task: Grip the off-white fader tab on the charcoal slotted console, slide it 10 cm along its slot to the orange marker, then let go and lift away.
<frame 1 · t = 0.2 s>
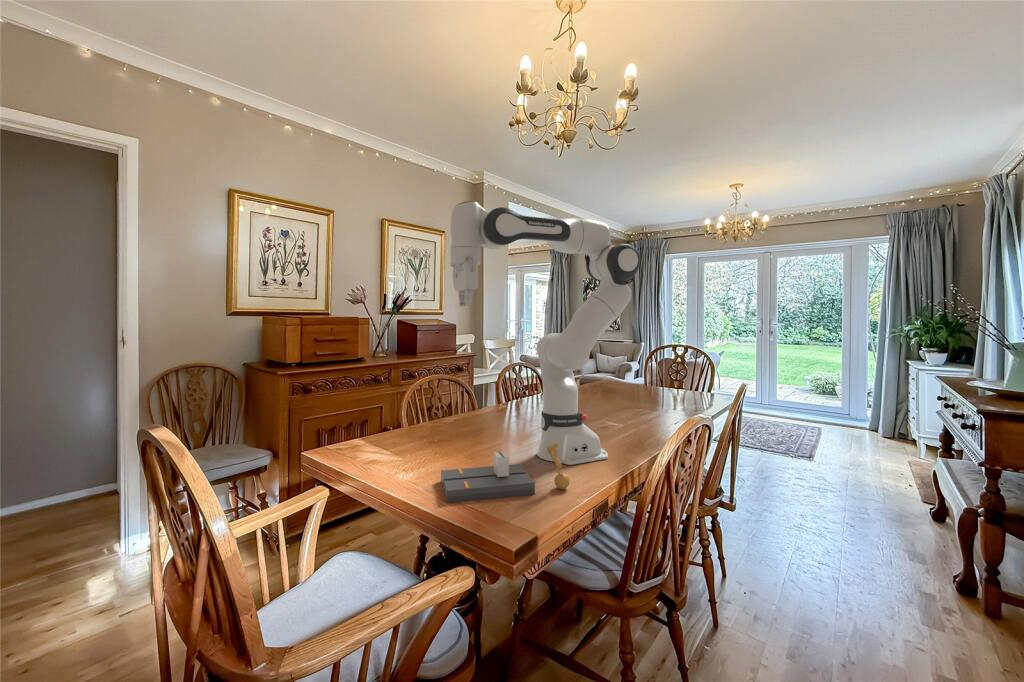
hand: (465, 306, 131), 47 cm above the table, tool pointing down, fingers open, 8 cm apart
fader tab: (501, 466, 116), point 5 cm above the table, slide at 0.0 cm
figurine: (557, 489, 115), on the table
console: (486, 487, 115), on the table
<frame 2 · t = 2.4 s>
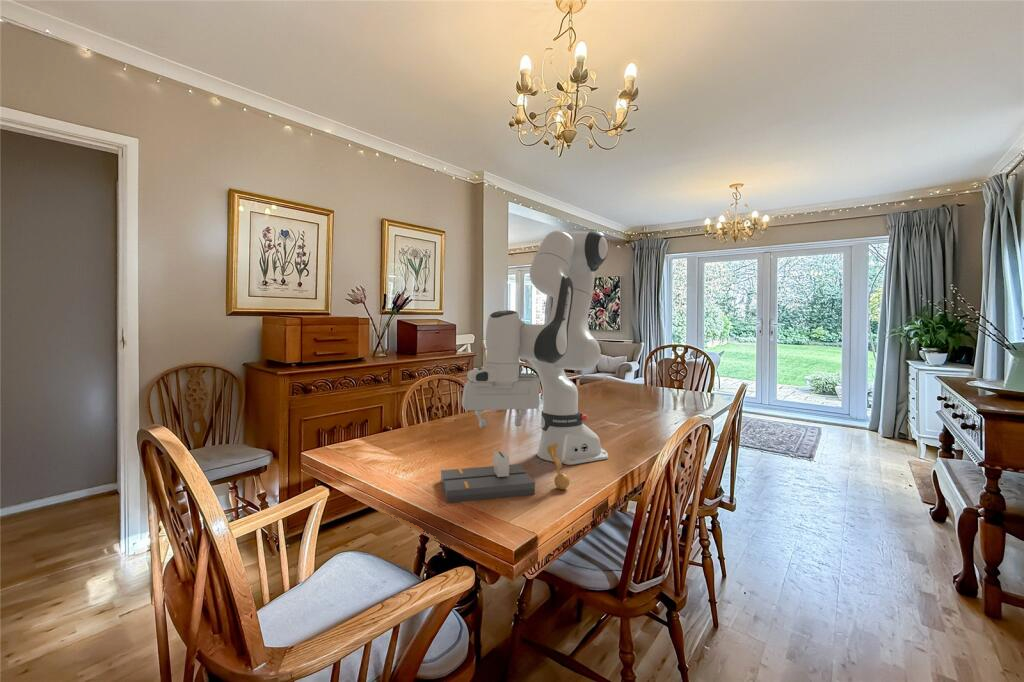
hand: (500, 426, 115), 16 cm above the table, tool pointing down, fingers open, 8 cm apart
nothing on the table moved.
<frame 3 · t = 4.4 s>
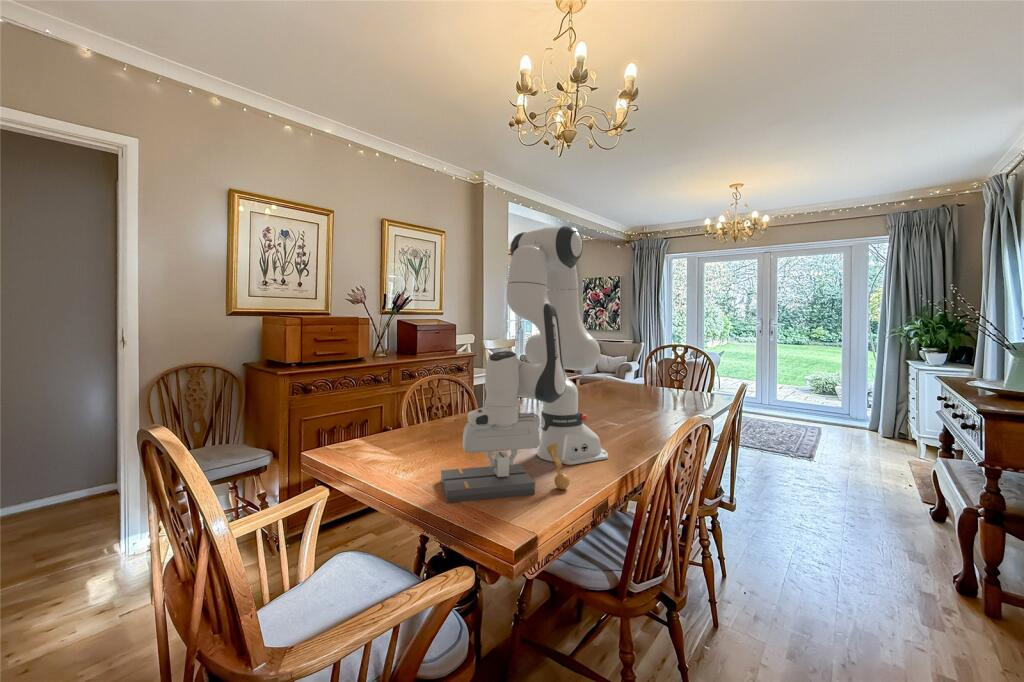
hand: (501, 466, 116), 5 cm above the table, tool pointing down, fingers closed on fader tab, 3 cm apart
fader tab: (501, 466, 116), point 5 cm above the table, slide at 0.0 cm, touching gripper
everything else where it was.
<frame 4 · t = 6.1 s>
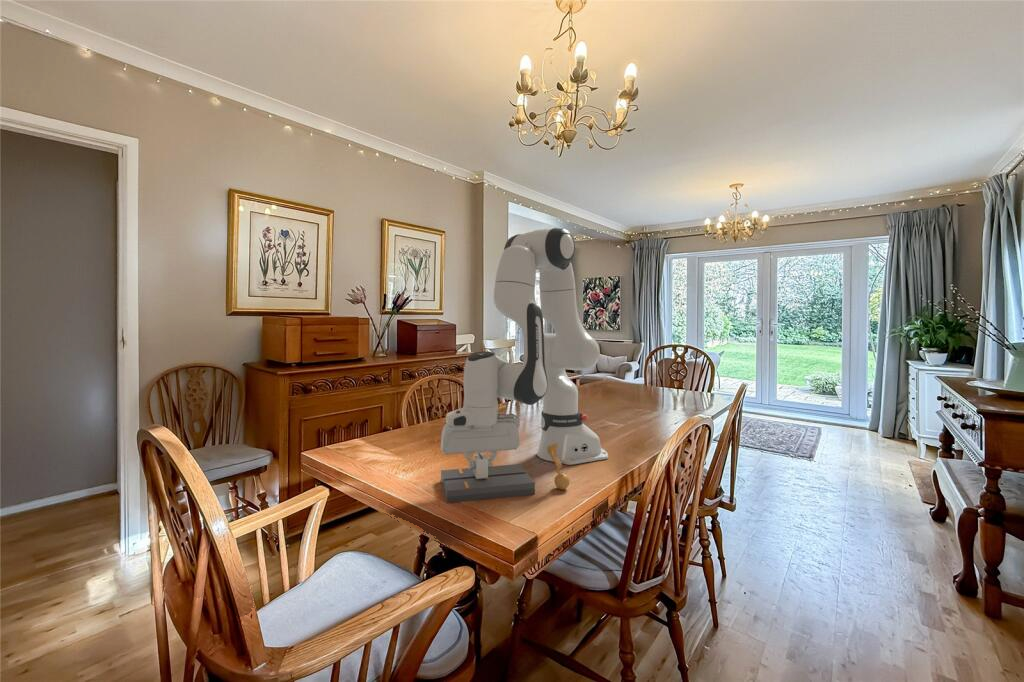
hand: (480, 467, 115), 5 cm above the table, tool pointing down, fingers closed on fader tab, 3 cm apart
fader tab: (480, 468, 115), point 5 cm above the table, slide at 5.6 cm, touching gripper
everything else where it was.
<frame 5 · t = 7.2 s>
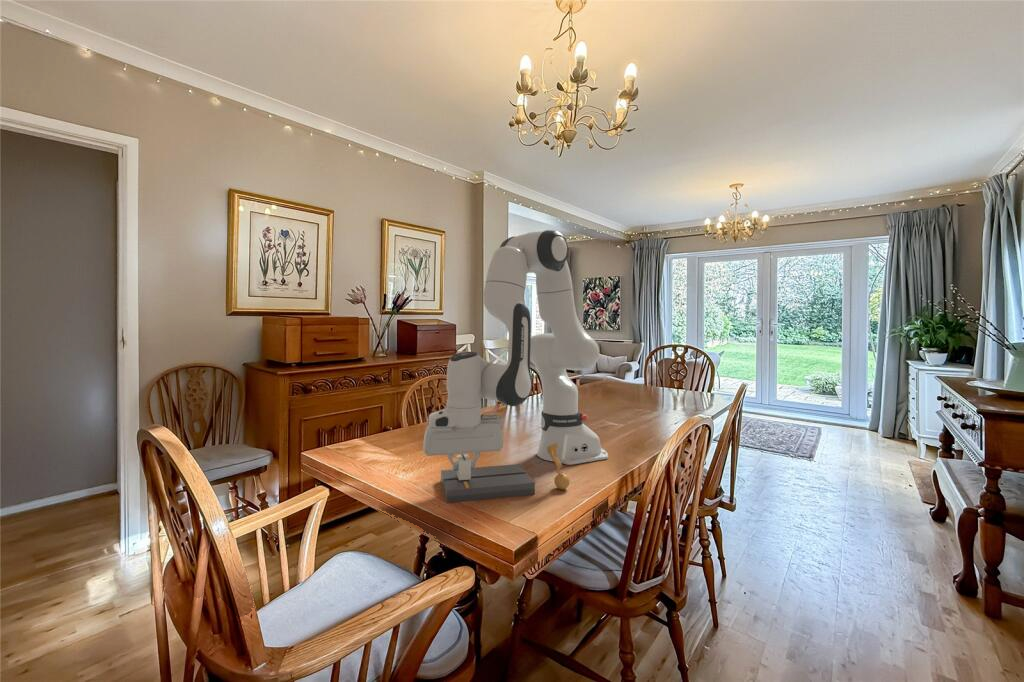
hand: (463, 469, 114), 5 cm above the table, tool pointing down, fingers closed on fader tab, 3 cm apart
fader tab: (463, 470, 114), point 5 cm above the table, slide at 10.0 cm, touching gripper
everything else where it was.
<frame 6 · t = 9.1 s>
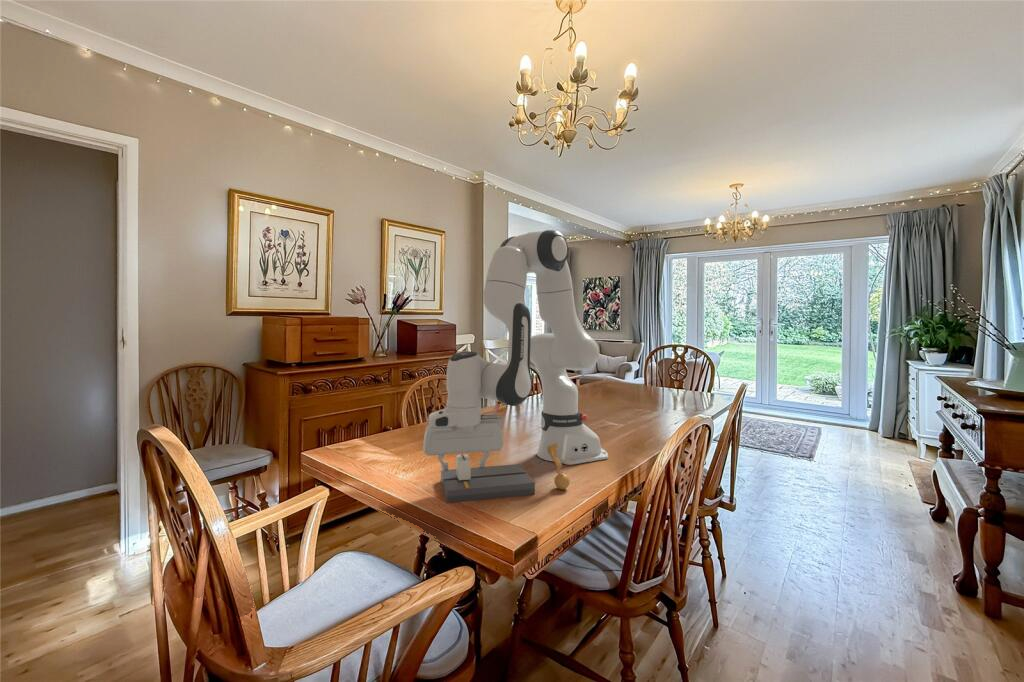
hand: (463, 469, 114), 5 cm above the table, tool pointing down, fingers open, 8 cm apart
fader tab: (463, 470, 114), point 5 cm above the table, slide at 10.0 cm
everything else where it was.
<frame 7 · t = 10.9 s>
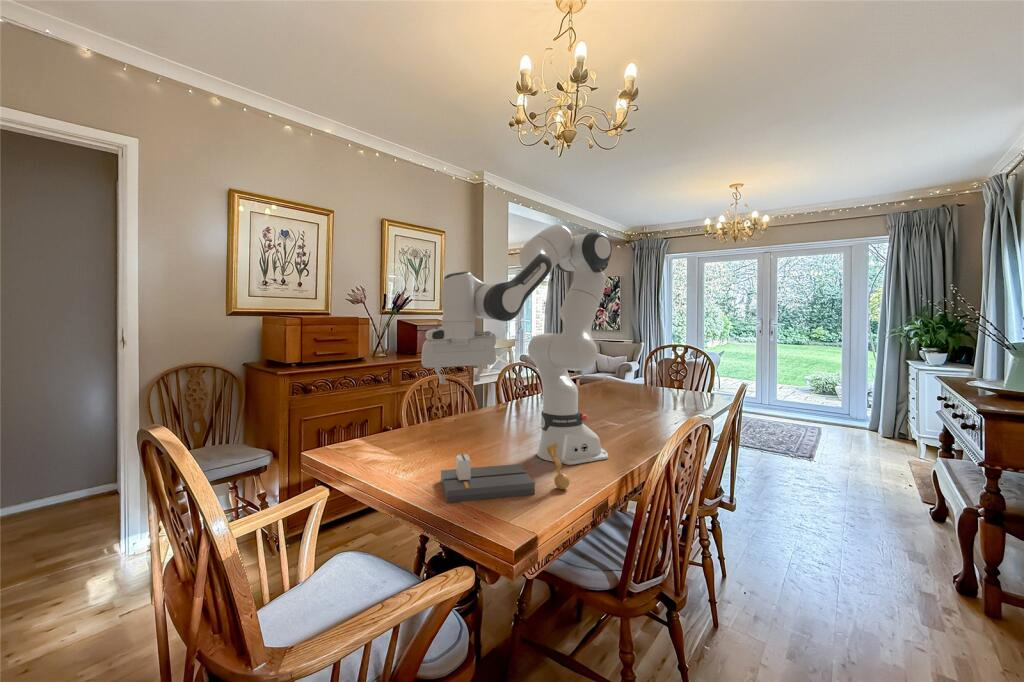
hand: (459, 382, 121), 26 cm above the table, tool pointing down, fingers open, 8 cm apart
nothing on the table moved.
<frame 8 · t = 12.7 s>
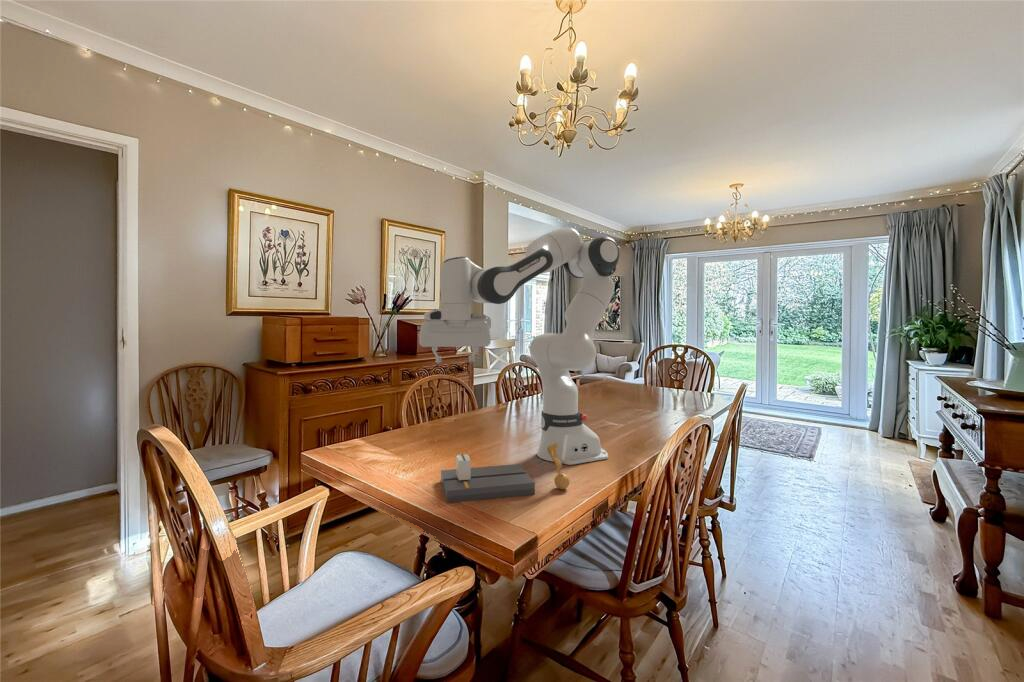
hand: (455, 362, 127), 31 cm above the table, tool pointing down, fingers open, 8 cm apart
nothing on the table moved.
at the end: fader tab slide at 10.0 cm; the gripper is holding nothing; figurine moved 0.2 cm from its start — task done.
